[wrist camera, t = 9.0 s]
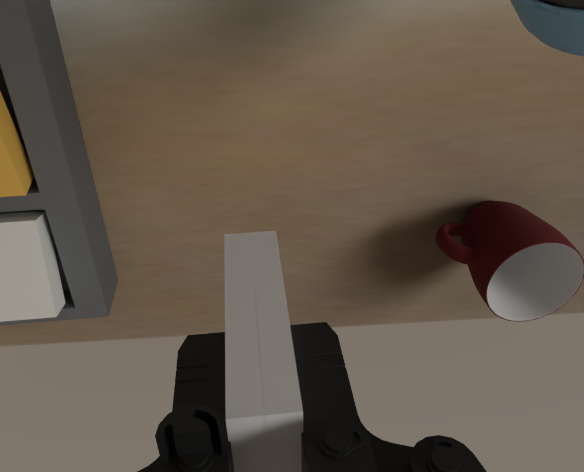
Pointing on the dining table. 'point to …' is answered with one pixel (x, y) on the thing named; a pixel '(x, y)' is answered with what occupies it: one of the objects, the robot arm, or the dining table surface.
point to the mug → (514, 260)
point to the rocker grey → (28, 268)
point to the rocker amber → (12, 158)
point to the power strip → (54, 158)
